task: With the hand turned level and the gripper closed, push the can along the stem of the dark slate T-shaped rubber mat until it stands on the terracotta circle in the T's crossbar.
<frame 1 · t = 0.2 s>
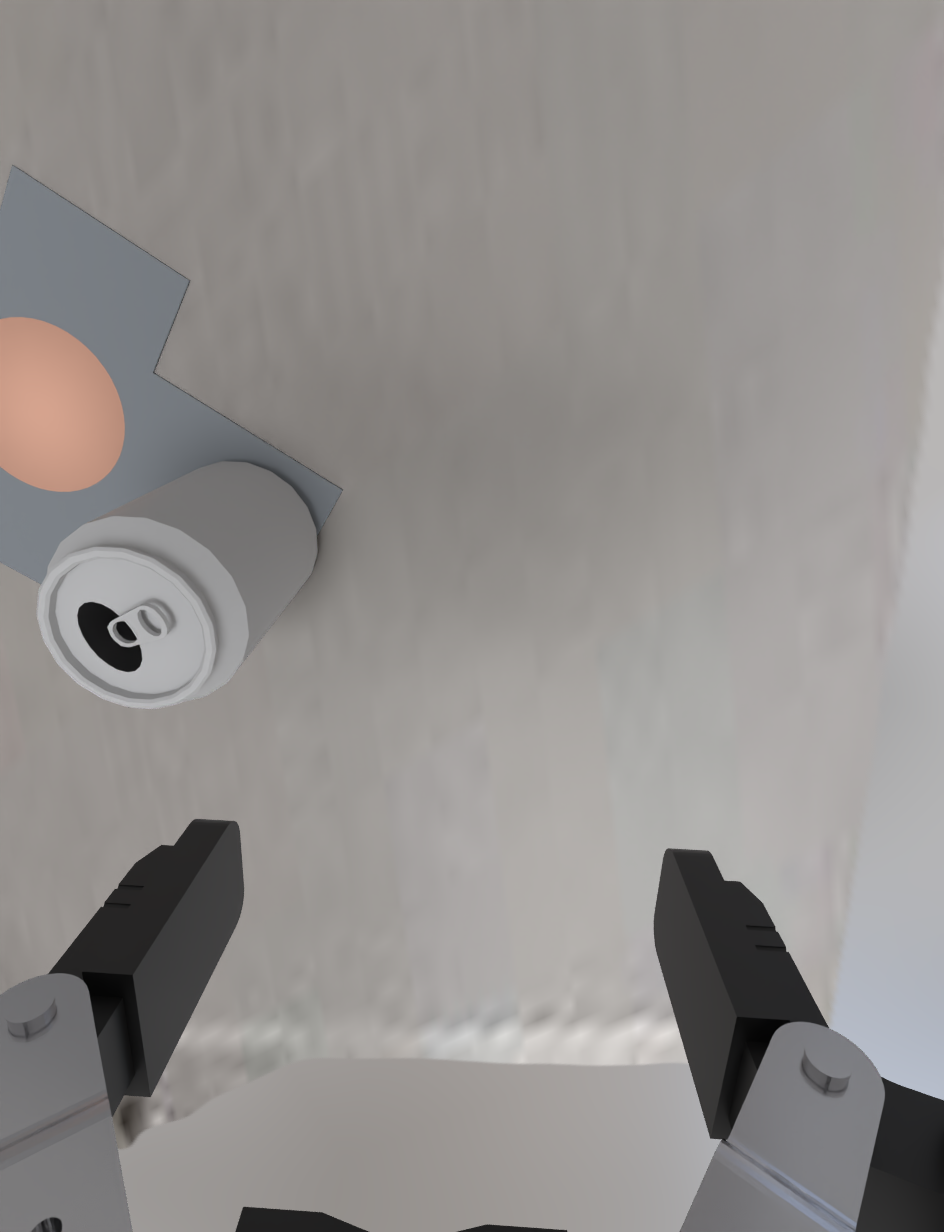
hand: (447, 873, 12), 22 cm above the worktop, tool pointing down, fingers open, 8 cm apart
t mat: (120, 455, 32), on the worktop
can: (250, 530, 34), resting on t mat
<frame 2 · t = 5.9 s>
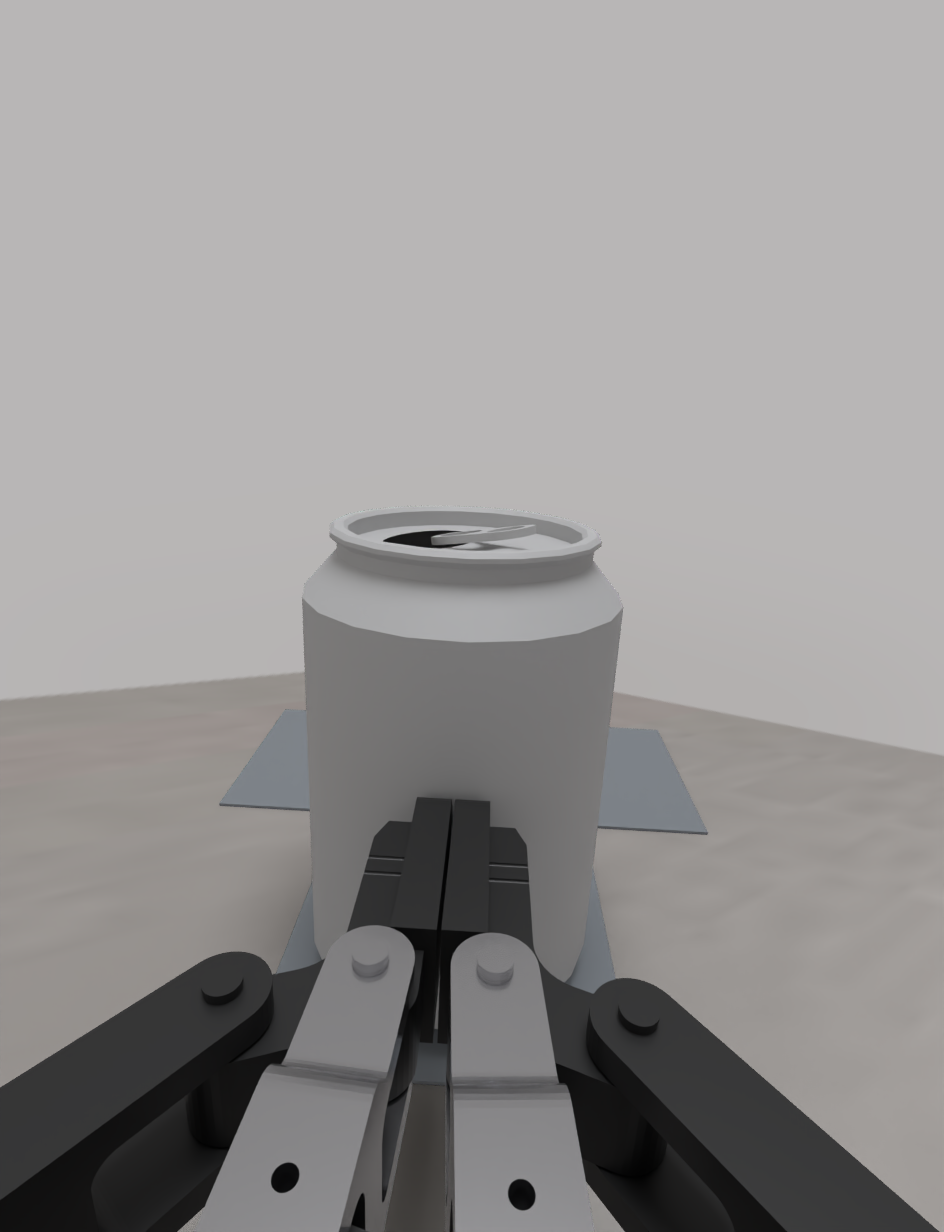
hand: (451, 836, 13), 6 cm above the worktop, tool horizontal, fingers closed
t mat: (461, 818, 24), on the worktop
can: (448, 942, 19), resting on t mat, touching gripper
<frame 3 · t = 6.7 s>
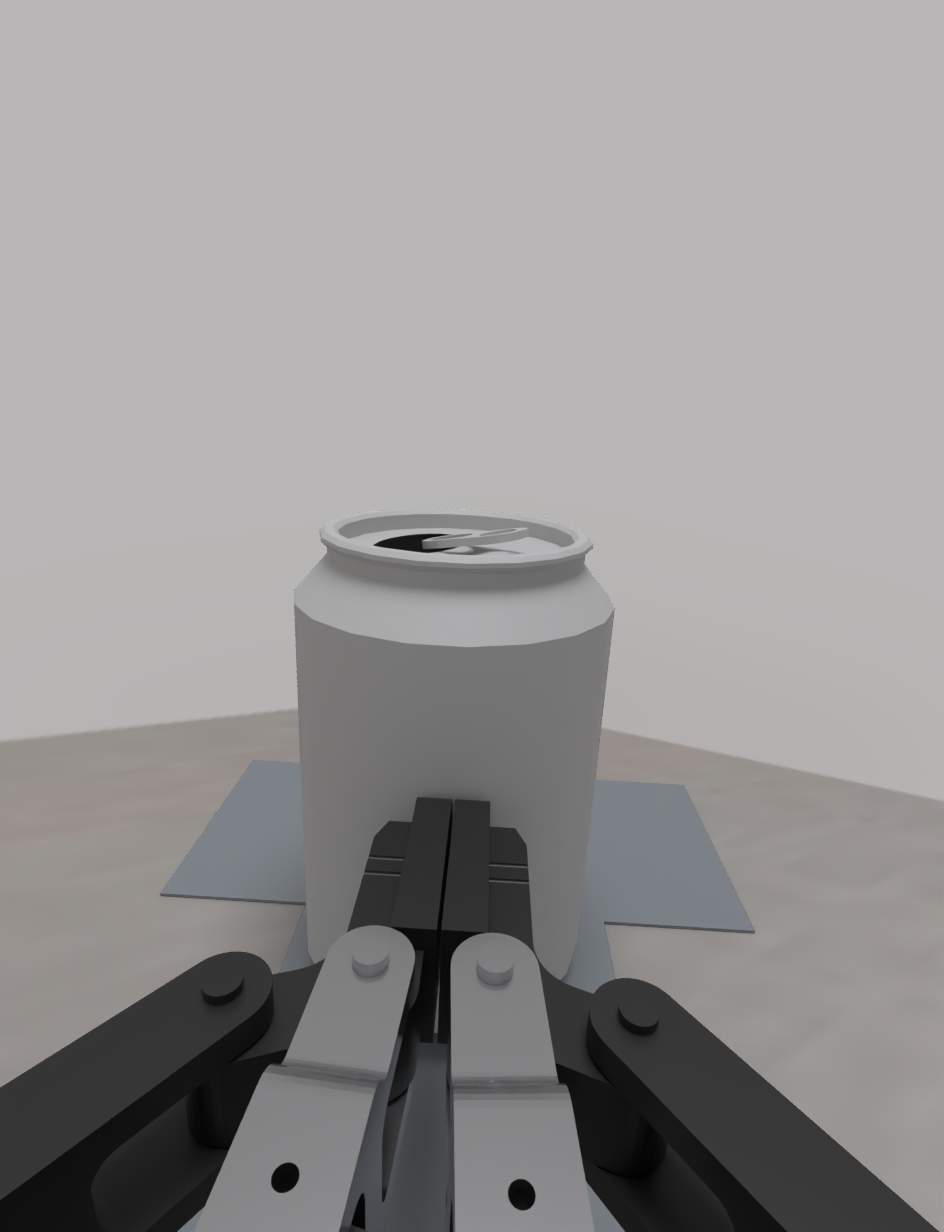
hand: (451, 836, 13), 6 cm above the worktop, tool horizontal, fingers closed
t mat: (454, 913, 20), on the worktop
can: (441, 945, 19), resting on t mat, touching gripper
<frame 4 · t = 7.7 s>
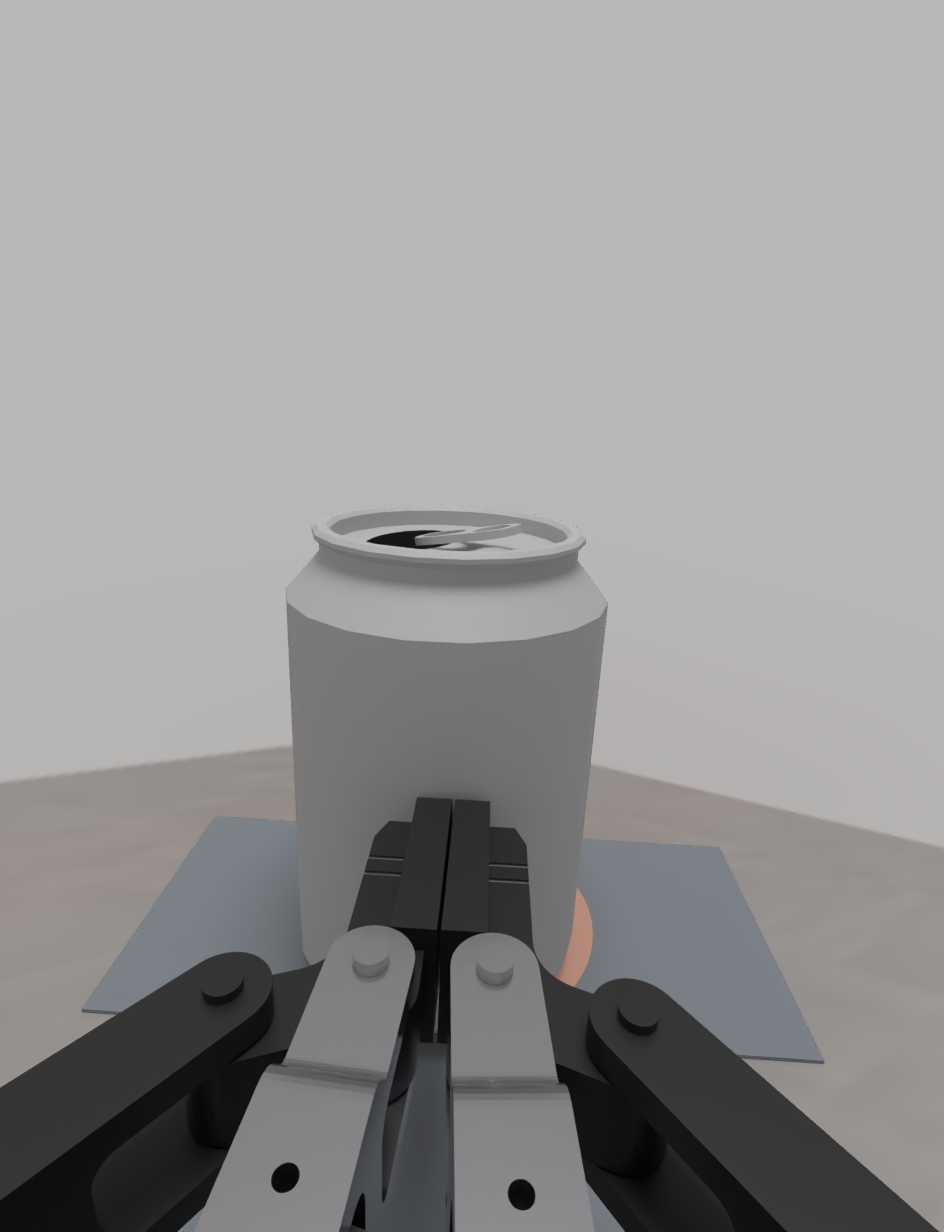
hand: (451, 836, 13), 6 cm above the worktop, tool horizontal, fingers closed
t mat: (447, 1036, 16), on the worktop
can: (436, 942, 19), resting on t mat, touching gripper
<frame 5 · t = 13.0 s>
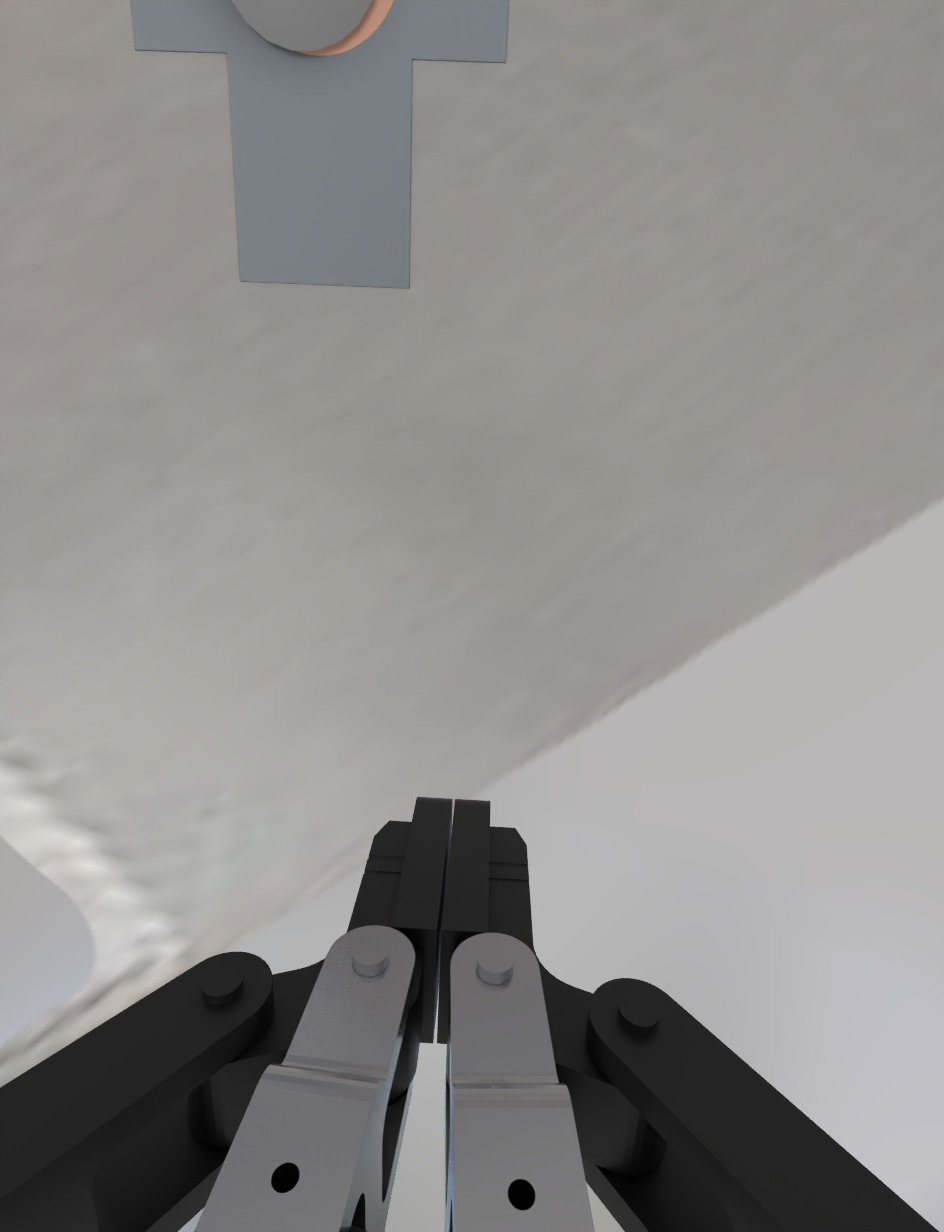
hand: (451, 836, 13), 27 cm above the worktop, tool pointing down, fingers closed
t mat: (319, 56, 32), on the worktop
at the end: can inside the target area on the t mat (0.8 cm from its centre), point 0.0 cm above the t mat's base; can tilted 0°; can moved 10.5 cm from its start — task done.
